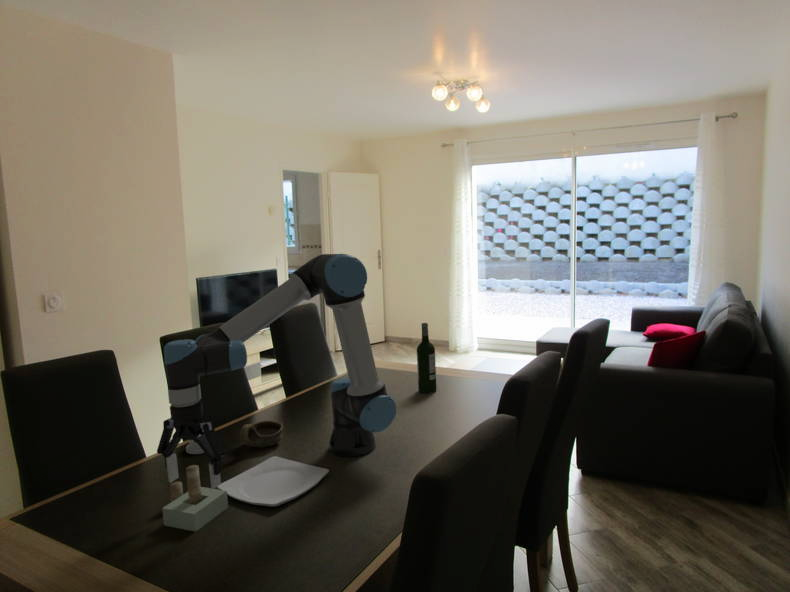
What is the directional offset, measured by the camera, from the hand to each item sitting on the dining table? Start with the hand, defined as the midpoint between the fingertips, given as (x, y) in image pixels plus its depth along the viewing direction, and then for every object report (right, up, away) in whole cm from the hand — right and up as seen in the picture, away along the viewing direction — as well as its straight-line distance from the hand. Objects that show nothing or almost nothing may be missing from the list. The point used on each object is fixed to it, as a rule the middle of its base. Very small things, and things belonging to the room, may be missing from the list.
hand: (194, 483), depth 135 cm
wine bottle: (+65, +6, +98) cm, 118 cm away
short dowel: (-7, -8, +7) cm, 13 cm away
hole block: (0, -9, +1) cm, 9 cm away
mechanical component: (-15, -5, +46) cm, 48 cm away
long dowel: (0, -9, +1) cm, 9 cm away
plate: (+17, -7, +16) cm, 24 cm away
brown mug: (+6, -4, +45) cm, 45 cm away
